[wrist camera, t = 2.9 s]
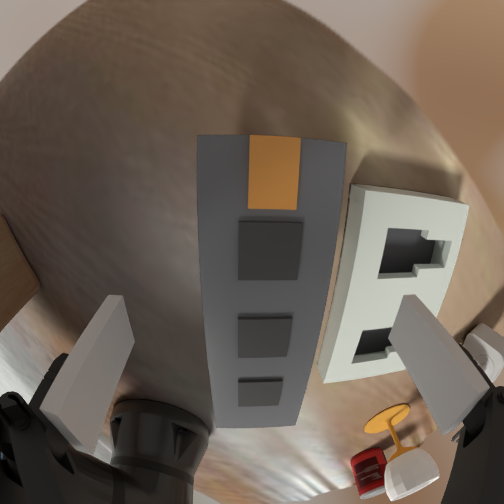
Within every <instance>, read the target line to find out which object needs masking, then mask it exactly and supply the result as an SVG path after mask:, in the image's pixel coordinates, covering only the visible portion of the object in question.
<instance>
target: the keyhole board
mask: <svg viewBox="0 0 504 504" xmlns="http://www.w3.org/2000/svg"><path fill="white" fill-rule="evenodd" d="M468 209H469V205H468V204H465V203H463V202H461V201H458V200H456V199H453V198H451V197H446V196H441V195H435V194H429V193H422V192H416V191H409V190H402V189H395V188H387V187H379V186H370V185H361V184H351V183H350V189H349V198H348V207H347V215H346V222H345V230H344V237H343V243H342V250H341V256H340V262H339V267H338V273H337V279H336V284H335V289H334V294H333V299H332V304H331V309H330V313H329V318H328V323H327V327H326V331H325V335H324V340H323V344H322V348H321V352H320V356H319V360H318V363H317V365H318V368H319V371H320V375H321V378H322V381H323V383H331V382H339V381H346V380H353V379H359V378H365V377H371V376H376V375H381V374H386V373H391V372H396V371H400V370H405V369H406V367H405V366H404V364H403V362H402V361H401V359H400V357H399V355H398V354H397V352H396V350H395V349H394V347H393V346H392V344H391V342H390V341H389V339H388V337H389V334H390V332H391V329H392V327H393V324H394V321H395V319H396V316H397V313H398V310H399V307H400V304H401V301H402V298H403V295H411V294H415V295H416V296H417V297H418V298H419V299H420V300H421V301H422V302H423V303H424V305H425V306H426V307H427V308H428V309H429V310H430V311H431V313H432V314H433V315H434V316H435V317H437V315H438V312H439V310H440V307H441V304H442V302H443V299H444V296H445V294H446V291H447V288H448V285H449V282H450V279H451V276H452V273H453V270H454V267H455V263H456V260H457V256H458V253H459V249H460V245H461V241H462V237H463V233H464V229H465V224H466V220H467V215H468Z"/></svg>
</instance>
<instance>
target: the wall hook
mask: <svg viewBox="0 0 504 504" xmlns="http://www.w3.org/2000/svg"><path fill="white" fill-rule="evenodd" d="M463 347H464V348H466V349H467V350H468V351H469V352H470V354H471V355H472V356H473V359H475V360H476V361H477V363H478V365H480V367H481V368H482V369H483V371H484V372H485V374H486V375H487V376H488V378H489V379H490V380H491V382H492V383H493V382H494V381H495V379H496V378H497V377H498V375H499V374H500V372H501V370H502V368H503V367H504V337H503V336H501V335H500V334H498V333H497V332H496V331H494V330H493V329H491V328H490V327H488V326H487V325H486V324H483V323H480V324H478V325H477V326H476V327H475V328H474V329H473V330H472V331H471V332H470V333H469V334H468V335H467V336H466V339H465V341H464V344H463Z"/></svg>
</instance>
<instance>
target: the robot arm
mask: <svg viewBox="0 0 504 504" xmlns="http://www.w3.org/2000/svg"><path fill="white" fill-rule="evenodd" d="M388 339H389V341H390V342H391V344H392V346H393V347H394V349H395V350H396V352H397V354H398V355H399V357H400V359H401V361H402V362H403V364H404V366H405V367H406V369H407V371H408V373H409V374H410V376H411V378H412V380H413V381H414V383H415V385H416V387H417V389H418V390H419V392H420V394H421V396H422V398H423V399H424V401H425V403H426V405H427V407H428V409H429V411H430V413H431V415H432V417H433V418H434V420H435V422H436V424H437V426H438V428H439V430H440V432H441V434H442V435H444V434H446V433H448V432H451V431H453V430H455V428H456V427H457V426H458V425H459V424H460V423H461V422H463V424H464V426H463V427H462V428H461V429H460V431H458V432H457V433H456V434H455V436H453V438H452V440H451V441H454V440H455V439H456V438H457V437H458V436H459V435H460V436H459V439H458V440H457V441H456V442H457V443H458V446H457V451H456V455H455V459H454V463H453V467H452V471H451V474H450V478H449V481H448V484H447V487H446V490H445V493H444V496H443V499H442V502H441V504H504V387H503V386H498V387H495V386H494V385H493V383H492V382H491V380H490V379H489V378H488V376H487V375H486V374H485V372H484V371H483V369H482V368H481V367H480V365H478V363H477V361H476V360H475V359H473V356H472V355H471V354H470V352H469V351H468V350H467V349H466V348H464V347H463V346H462V345H460V344H457V342H456V341H455V340H454V339H453V337H452V336H451V335H450V334H449V333H448V331H447V330H446V329H445V328H444V327H443V325H442V324H441V323H440V322H439V321H438V319H437V318H436V317H435V316H434V315H433V314H432V313H431V311H430V310H429V309H428V308H427V307H426V306H425V305H424V303H423V302H422V301H421V300H420V299H419V298H418V297H417V296H416V295H415V294H411V295H403V298H402V301H401V304H400V307H399V310H398V313H397V316H396V319H395V321H394V324H393V327H392V329H391V332H390V334H389V337H388ZM134 343H135V340H134V336H133V333H132V329H131V325H130V322H129V318H128V314H127V310H126V306H125V302H124V298H123V296H121V295H108V296H107V297H106V299H105V300H104V302H103V303H102V305H101V306H100V308H99V309H98V310H97V312H96V313H95V315H94V316H93V318H92V319H91V321H90V322H89V324H88V325H87V327H86V328H85V330H84V332H83V333H82V335H81V336H80V338H79V339H78V341H77V343H76V344H75V346H74V347H73V349H72V351H71V352H70V354H66V353H62V354H61V355H60V356H59V357H57V358H56V359H55V360H54V361H53V363H52V364H51V366H50V368H49V369H48V370H49V371H48V372H47V373H46V374H45V376H44V379H42V381H41V383H40V385H39V386H38V388H37V390H36V392H35V394H34V395H33V397H32V399H31V401H30V403H29V404H27V403H26V402H25V400H24V399H23V398H22V396H21V395H19V394H18V393H16V392H13V391H12V392H7V393H5V394H3V395H2V396H1V397H0V504H193V482H194V474H195V472H196V470H197V468H198V466H199V464H200V462H201V460H202V458H203V456H204V454H205V451H206V449H207V447H208V438H209V431H208V428H207V427H206V425H205V424H204V423H203V422H202V421H201V420H200V419H198V418H197V417H195V416H194V415H192V414H190V413H188V412H186V411H184V410H182V409H179V408H177V407H174V406H171V405H168V404H164V403H160V402H156V401H150V400H139V399H133V400H125V401H122V402H119V403H118V404H116V405H115V407H114V409H113V412H112V415H111V418H110V433H111V445H112V458H111V462H110V465H109V464H107V463H105V462H103V461H101V460H99V459H97V458H96V457H94V456H92V455H93V454H94V451H95V448H96V445H97V441H98V438H99V435H100V432H101V429H102V426H103V423H104V421H105V418H106V415H107V412H108V409H109V406H110V404H111V401H112V398H113V396H114V393H115V390H116V388H117V385H118V382H119V380H120V377H121V375H122V372H123V370H124V367H125V365H126V362H127V360H128V357H129V355H130V353H131V350H132V348H133V345H134Z"/></svg>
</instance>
